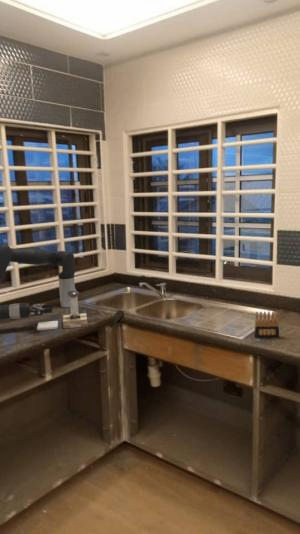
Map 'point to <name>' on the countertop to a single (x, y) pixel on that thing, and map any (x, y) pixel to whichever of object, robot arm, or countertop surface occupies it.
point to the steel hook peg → (74, 304)
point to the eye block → (75, 321)
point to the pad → (47, 325)
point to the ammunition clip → (266, 326)
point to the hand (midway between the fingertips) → (52, 308)
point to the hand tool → (115, 318)
